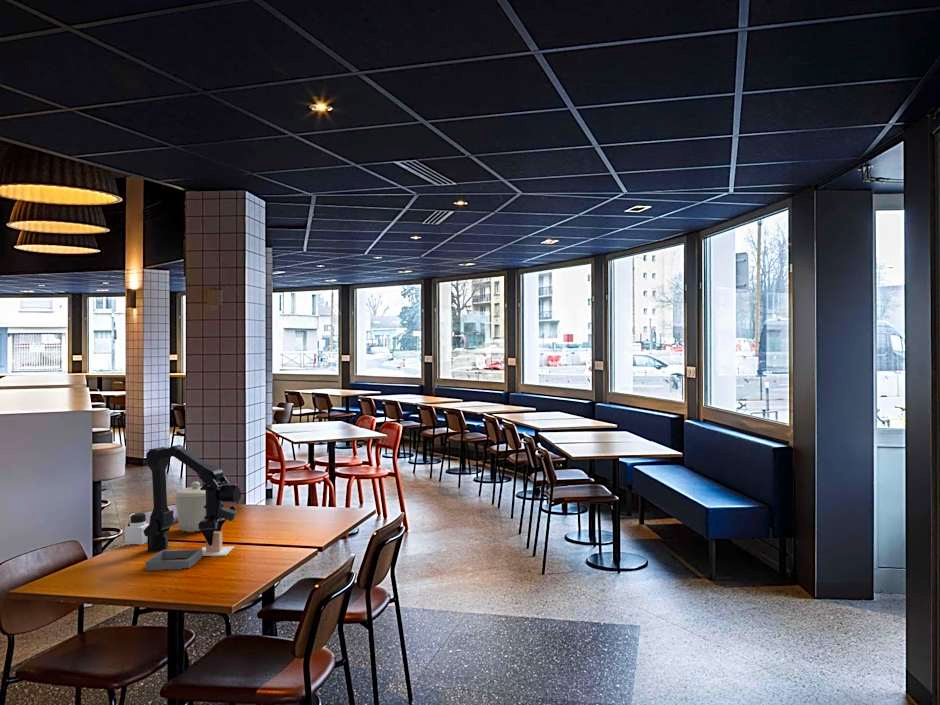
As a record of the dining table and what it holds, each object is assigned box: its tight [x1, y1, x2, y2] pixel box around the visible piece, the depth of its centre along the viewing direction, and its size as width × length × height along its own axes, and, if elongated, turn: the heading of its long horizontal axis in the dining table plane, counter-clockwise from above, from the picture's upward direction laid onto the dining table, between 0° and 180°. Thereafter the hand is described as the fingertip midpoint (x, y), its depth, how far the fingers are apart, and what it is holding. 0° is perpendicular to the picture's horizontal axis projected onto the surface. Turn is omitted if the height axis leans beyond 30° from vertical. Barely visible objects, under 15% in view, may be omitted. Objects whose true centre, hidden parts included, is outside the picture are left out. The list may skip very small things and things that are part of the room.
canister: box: [172, 481, 206, 533], centre depth 316 cm, size 18×18×21 cm
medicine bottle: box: [124, 512, 150, 546], centre depth 295 cm, size 7×7×12 cm
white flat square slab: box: [201, 545, 235, 557], centre depth 278 cm, size 12×12×1 cm
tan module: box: [205, 530, 223, 552], centre depth 278 cm, size 5×4×7 cm
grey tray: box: [145, 548, 203, 571], centre depth 263 cm, size 15×15×3 cm
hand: (214, 542), depth 278 cm, fingers open, 9 cm apart
